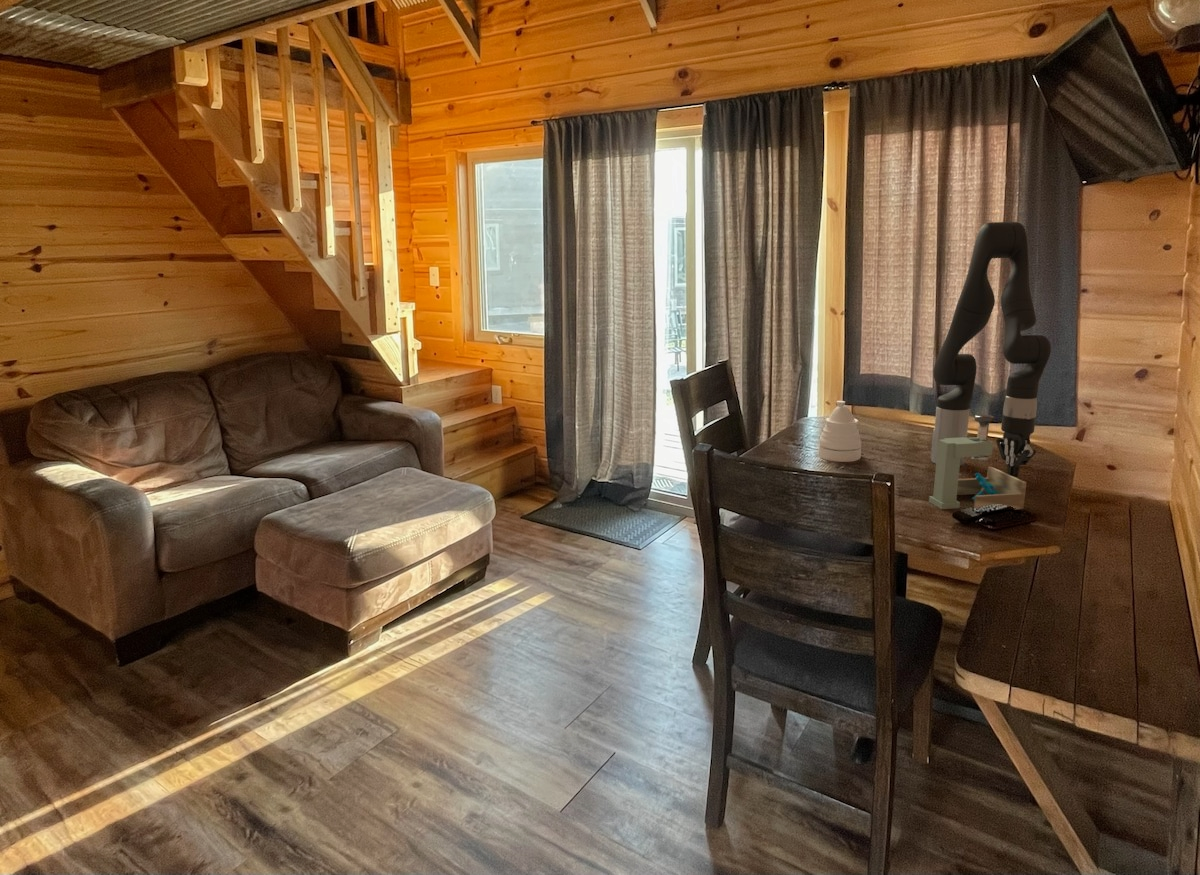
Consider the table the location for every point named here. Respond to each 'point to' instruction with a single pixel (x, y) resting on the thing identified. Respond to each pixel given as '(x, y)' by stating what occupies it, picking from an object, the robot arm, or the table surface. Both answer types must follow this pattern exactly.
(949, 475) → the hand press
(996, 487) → the tan open box
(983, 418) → the ram
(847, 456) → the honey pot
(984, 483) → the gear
